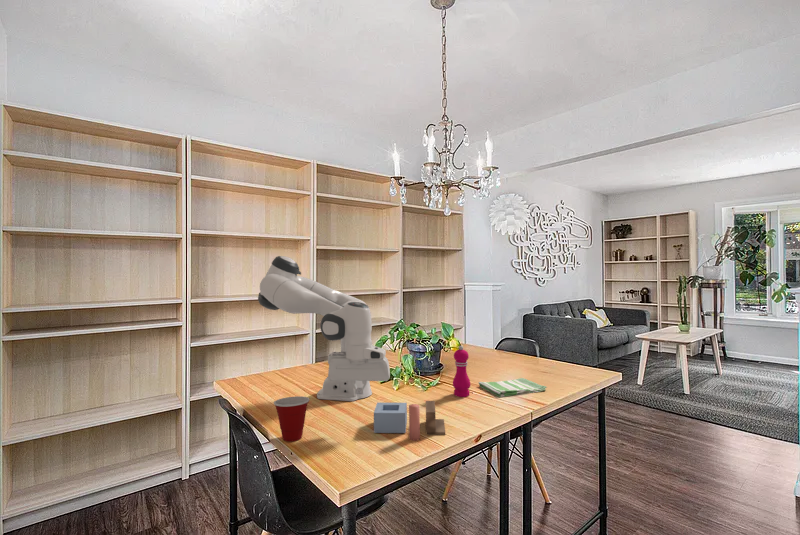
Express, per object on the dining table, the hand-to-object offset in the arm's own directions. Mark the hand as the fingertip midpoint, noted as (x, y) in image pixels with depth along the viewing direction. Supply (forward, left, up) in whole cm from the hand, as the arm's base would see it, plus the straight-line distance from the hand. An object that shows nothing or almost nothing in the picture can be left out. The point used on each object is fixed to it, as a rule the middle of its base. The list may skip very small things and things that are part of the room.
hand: (359, 393), depth 137 cm
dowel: (+18, -8, -11) cm, 23 cm away
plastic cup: (-20, -9, -11) cm, 24 cm away
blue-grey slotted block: (+10, 0, -11) cm, 15 cm away
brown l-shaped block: (+25, 0, -11) cm, 27 cm away
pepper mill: (+36, +35, -11) cm, 52 cm away
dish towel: (+58, +44, -12) cm, 74 cm away
